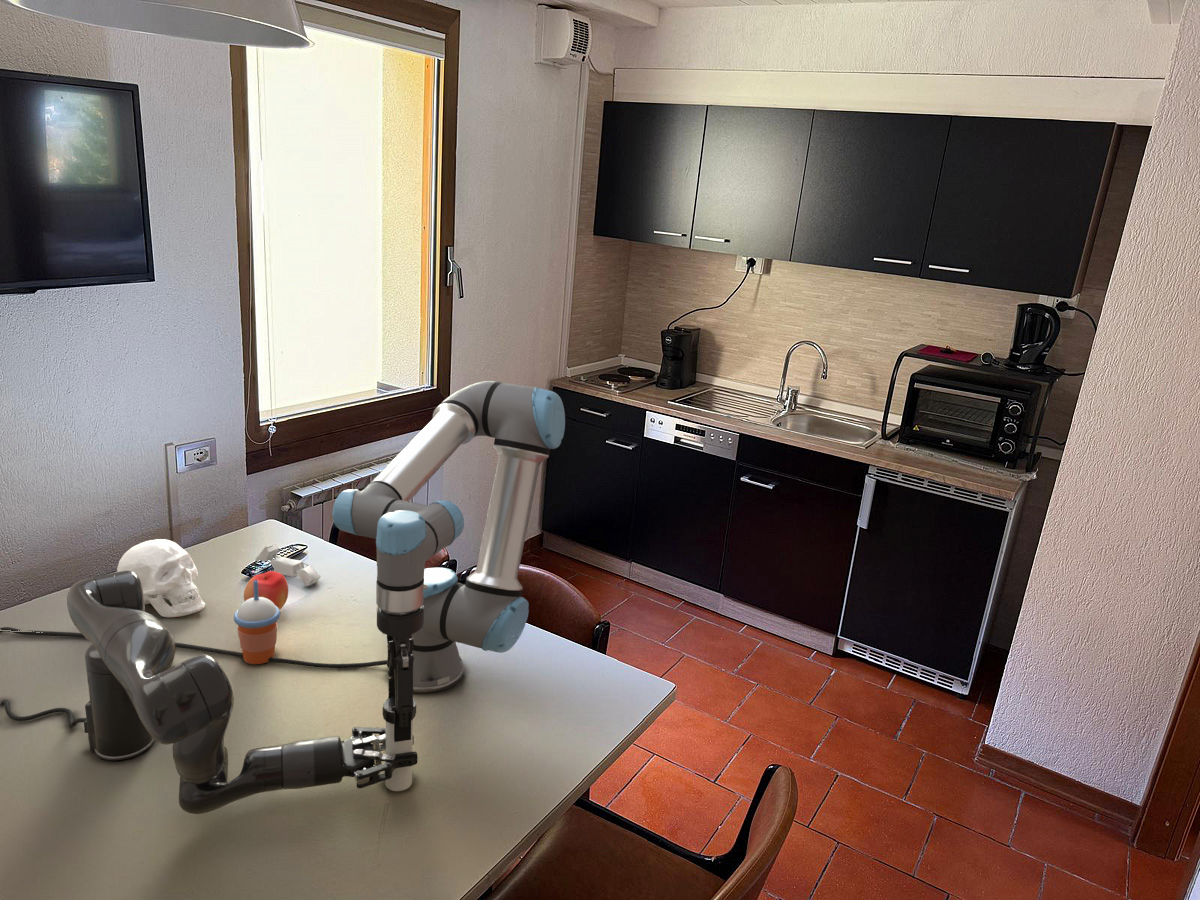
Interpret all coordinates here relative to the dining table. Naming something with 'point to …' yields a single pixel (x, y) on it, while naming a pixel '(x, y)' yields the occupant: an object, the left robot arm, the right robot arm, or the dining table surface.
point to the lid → (389, 714)
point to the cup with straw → (257, 628)
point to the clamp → (288, 565)
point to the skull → (164, 576)
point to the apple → (269, 588)
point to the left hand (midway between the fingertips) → (414, 748)
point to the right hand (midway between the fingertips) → (399, 724)
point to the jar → (400, 775)
